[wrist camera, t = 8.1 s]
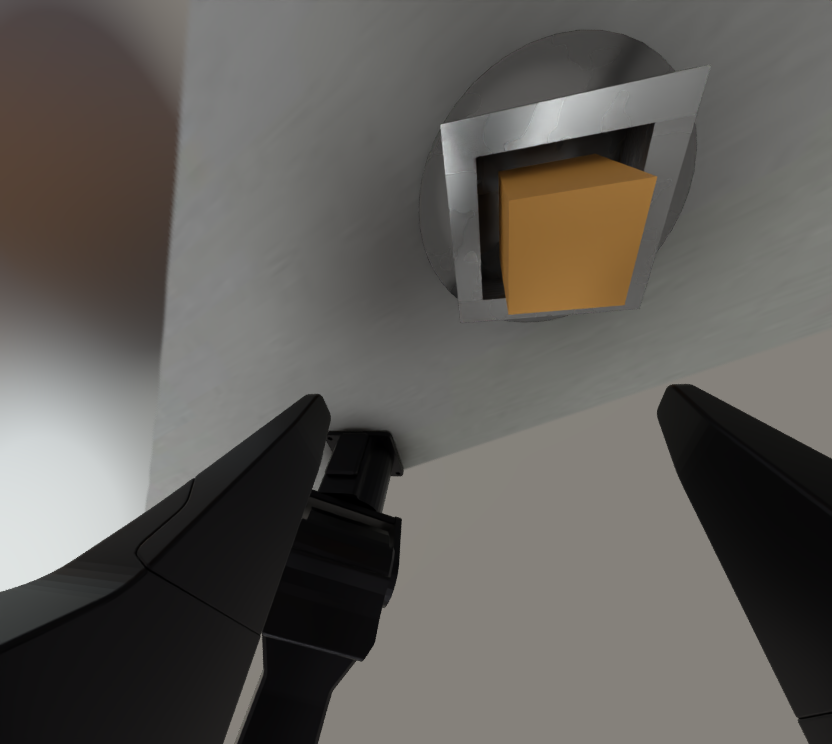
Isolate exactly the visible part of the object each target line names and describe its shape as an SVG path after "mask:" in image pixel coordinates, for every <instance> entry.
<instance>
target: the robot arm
mask: <svg viewBox="0 0 832 744" xmlns="http://www.w3.org/2000/svg"><path fill="white" fill-rule="evenodd" d="M657 417H658V421H659V424H660V426H661V429H662V432H663V435H664V438H665V441H666V444H667V446H668V450H669V452H670V455H671V458H672V461H673V464H674V467H675V469H676V472H677V474H678V477H679V479H680V481H681V483H682V485H683V488H684V490H685V492H686V494H687V496H688V498H689V500H690V502H691V504H692V506H693V508H694V510H695V512H696V514H697V516H698V518H699V520H700V522H701V524H702V526H703V528H704V530H705V532H706V534H707V536H708V539H709V540H710V543H711V545H712V546H713V549H714V551H715V553H716V555H717V557H718V559H719V561H720V563H721V565H722V567H723V569H724V571H725V573H726V575H727V577H728V579H729V581H730V583H731V585H732V587H733V589H734V592H735V594H736V596H737V597H738V600H739V602H740V604H741V606H742V608H743V610H744V612H745V614H746V616H747V617H748V620H749V622H750V624H751V626H752V628H753V630H754V632H755V634H756V636H757V638H758V640H759V642H760V645H761V646H762V649H763V651H764V653H765V655H766V657H767V659H768V661H769V663H770V665H771V667H772V669H773V671H774V673H775V675H776V677H777V679H778V681H779V683H780V685H781V687H782V689H783V691H784V693H785V695H786V697H787V699H788V701H789V704H790V706H791V708H792V710H793V711H794V714H795V715H796V717H797V718H799V719H798V723H799V725H800V727H801V729H802V730H803V733H804V735H805V737H806V739H807V741H808V743H809V744H832V459H831V458H829V457H828V456H826V455H824V454H822V453H820V452H818V451H816V450H814V449H812V448H811V447H809V446H807V445H805V444H803V443H801V442H799V441H797V440H795V439H794V438H792V437H790V436H788V435H786V434H784V433H782V432H780V431H778V430H777V429H775V428H773V427H771V426H769V425H767V424H765V423H763V422H761V421H760V420H758V419H756V418H754V417H752V416H750V415H748V414H746V413H745V412H743V411H741V410H739V409H737V408H735V407H733V406H731V405H729V404H727V403H726V402H724V401H722V400H720V399H718V398H716V397H714V396H712V395H711V394H709V393H707V392H705V391H703V390H701V389H699V388H697V387H696V386H693V385H690V384H673V385H670V386H668V387H667V388H666V391H665V393H664V395H663V398H662V400H661V402H660V404H659V407H658V410H657ZM330 421H331V415H330V412H329V410H328V408H327V405H326V403H325V401H324V399H323V397H322V396H321V395H320V394H308V395H305V396H304V397H302V398H301V399H300V400H298V401H297V402H296V403H294V404H293V405H292V406H290V407H289V408H288V409H286V410H285V411H284V412H282V413H281V414H279V415H278V416H277V417H275V418H274V419H273V420H271V421H270V422H269V423H267V424H266V425H265V426H263V427H262V428H260V429H259V430H258V431H256V432H255V433H254V434H252V435H251V436H250V437H248V438H247V439H246V440H244V441H243V442H241V443H240V444H239V445H237V446H236V447H235V448H233V449H232V450H231V451H229V452H228V453H227V454H225V455H224V456H223V457H221V458H220V459H218V460H217V461H216V462H214V463H213V464H212V465H210V466H209V467H208V468H206V469H205V470H204V471H202V472H201V473H199V474H198V475H197V476H196V477H195V478H193V479H191V480H190V481H189V482H187V483H186V484H185V485H183V486H182V487H180V488H179V489H178V490H176V491H175V492H174V493H172V494H171V495H169V496H168V497H167V498H165V499H164V500H162V501H161V502H160V503H158V504H157V505H155V506H154V507H152V508H151V509H149V510H148V511H146V512H145V513H143V514H142V515H140V516H139V517H138V518H136V519H135V520H133V521H132V522H130V523H129V524H127V525H126V526H124V527H123V528H121V529H120V530H118V531H117V532H115V533H113V534H112V535H110V536H109V537H107V538H106V539H104V540H103V541H101V542H100V543H98V544H97V545H95V546H94V547H92V548H91V549H90V550H88V551H86V552H85V553H83V554H82V555H80V556H79V557H77V558H76V559H74V560H73V561H71V562H70V563H68V564H66V565H65V566H63V567H61V568H60V569H57V570H56V571H54V572H52V573H50V574H48V575H46V576H43V577H41V578H39V579H37V580H34V581H32V582H29V583H27V584H24V585H21V586H18V587H15V588H12V589H9V590H6V591H2V592H0V744H223V742H224V740H225V737H226V734H227V731H228V728H229V725H230V722H231V720H232V717H233V714H234V711H235V708H236V705H237V703H238V700H239V697H240V694H241V691H242V688H243V685H244V683H245V680H246V677H247V674H248V671H249V668H250V665H251V663H252V660H253V657H254V654H255V651H256V648H257V645H258V642H259V640H260V634H261V633H262V642H263V671H262V673H261V676H260V678H259V681H258V684H257V686H256V689H255V691H254V694H253V697H252V699H251V702H250V704H249V707H248V710H247V712H246V715H245V717H244V720H243V722H242V725H241V728H240V730H239V733H238V736H237V738H236V741H235V743H234V744H318V741H319V737H320V733H321V730H322V726H323V723H324V719H325V715H326V711H327V708H328V704H329V701H330V698H331V694H332V692H333V690H334V688H335V687H336V686H337V685H338V683H339V682H340V681H341V680H342V678H343V677H344V676H345V675H346V673H347V672H348V671H349V669H350V668H351V667H352V666H353V664H354V663H355V662H356V661H363V660H364V659H365V657H366V656H367V654H368V653H369V651H370V650H371V648H372V647H373V645H374V643H375V639H376V634H377V629H378V624H379V619H380V614H381V610H382V608H385V607H386V606H387V604H388V602H389V600H390V598H391V596H392V593H393V590H394V586H395V584H396V579H397V575H398V569H399V556H400V539H401V521H402V519H401V518H399V517H392V516H389V515H386V514H383V513H382V510H383V506H384V502H385V498H386V493H387V489H388V484H389V481H390V476H402V475H403V467H402V465H401V462H400V459H399V456H398V453H397V450H396V447H395V444H394V441H393V439H392V436H391V434H390V433H388V432H328V430H329V425H330ZM326 441H327V443H328V444H329V446H330V448H331V450H332V452H333V453H332V455H331V458H330V460H329V462H328V465H327V467H326V470H325V475H324V477H323V479H322V482H321V484H320V487H319V489H318V491H315V490H312V488H313V485H314V482H315V479H316V476H317V473H318V470H319V467H320V463H321V460H322V455H323V451H324V447H325V443H326Z"/></svg>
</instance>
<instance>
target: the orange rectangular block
mask: <svg viewBox="0 0 832 744" xmlns="http://www.w3.org/2000/svg"><path fill="white" fill-rule="evenodd" d="M498 179H499V253H500V265H501V271H502V277H503V284H504V290H505V296H506V302H507V309H508V315H512V314H524V313H536V312H548V311H560V310H572V309H585V308H597V307H609V306H621V305H625V301H626V297H627V293H628V289H629V286H630V282H631V278H632V274H633V270H634V266H635V262H636V258H637V254H638V250H639V246H640V243H641V239H642V235H643V231H644V227H645V223H646V219H647V215H648V211H649V207H650V203H651V200H652V196H653V192H654V188H655V184H656V180H657V176H655V175H652V174H649V173H646V172H644V171H641V170H638V169H636V168H633V167H630V166H627V165H625V164H622V163H619V162H616V161H614V160H611V159H608V158H606V157H603V156H600V155H597V154H591V155H586V156H580V157H575V158H570V159H564V160H559V161H553V162H548V163H542V164H537V165H531V166H526V167H520V168H515V169H510V170H504V171H499V172H498Z"/></svg>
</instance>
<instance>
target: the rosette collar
mask: <svg viewBox="0 0 832 744" xmlns="http://www.w3.org/2000/svg"><path fill="white" fill-rule="evenodd" d="M710 68H711V65H706V66H700V67H695V68H690V69H685V70H680V71H675V70H674V69H673V68H672V67H671V66H670V65H669V64H668V63H667V62H666V60H665V59H664V58H663V57H662V56H661V55H660V54H658V53H657V52H656V51H654V50H653V49H651V48H650V47H648V46H647V45H646V44H644V43H643V42H640V41H638V40H635V39H633V38H631V37H628V36H626V35H623V34H619V33H614V32H608V31H603V30H576V31H571V32H565V33H559V34H554V35H551V36H549V37H546V38H543V39H540V40H537V41H534V42H532V43H530V44H528V45H526V46H524V47H522V48H520V49H518V50H516V51H515V52H513V53H511V54H509V55H508V56H506V57H505V58H504V59H502V60H501V61H499V62H498V63H497V64H495V65H494V66H492V67H491V68H490V69H489V70H488V71H486V72H485V73H484V74H483V75H482V76H481V77H480V78H479V79H478V80H477V81H476V82H475V83H473V84H472V85H471V87H470V88H469V89H468V90H467V91H466V93H465V94H464V95H463V96H462V97H461V98H460V100H459V101H458V102H457V103H456V105H455V106H454V108H453V109H452V111H451V112H450V114H449V115H448V117H447V118H446V120H445V121H444V123H443V124H441V125H440V126H441V129H440V131H439V133H438V135H437V137H436V139H435V140H434V143H433V146H432V148H431V151H430V153H429V156H428V159H427V162H426V166H425V170H424V173H423V177H422V183H421V190H420V197H419V220H420V230H421V235H422V240H423V244H424V248H425V251H426V254H427V256H428V259H429V261H430V263H431V265H432V267H433V269H434V271H435V273H436V275H437V276H438V277H439V279H440V280H441V282H442V283H443V285H444V286H445V287H446V288H447V289H448V290H449V291H450V292H451V293H452V294H453V295H454V296H455V297H456V298H457V299H458V303H459V313H460V323H467V322H480V321H493V320H506V321H514V322H539V321H547V320H552V319H556V318H561V317H565V316H568V315H570V314H581V313H594V312H607V311H620V310H632V309H640V306H641V303H642V299H643V296H644V292H645V289H646V286H647V282H648V279H649V275H650V272H651V269H652V265H653V262H654V258H655V255H656V252H657V251H658V249H659V248H660V247H661V246H662V244H663V242H664V241H665V239H666V238H667V236H668V235H669V233H670V232H671V230H672V228H673V226H674V225H675V223H676V221H677V219H678V217H679V215H680V213H681V211H682V208H683V206H684V203H685V200H686V198H687V195H688V193H689V189H690V185H691V181H692V177H693V173H694V167H695V159H696V151H697V145H696V125H695V119H696V115H697V112H698V108H699V105H700V102H701V98H702V95H703V91H704V88H705V85H706V81H707V78H708V74H709V71H710ZM591 154H597V155H600V156H603V157H606V158H608V159H611V160H614V161H616V162H619V163H622V164H625V165H627V166H630V167H633V168H636V169H638V170H641V171H644V172H646V173H649V174H652V175H655V176H657V180H656V184H655V188H654V192H653V196H652V200H651V203H650V207H649V211H648V215H647V219H646V223H645V227H644V231H643V235H642V239H641V243H640V246H639V250H638V254H637V258H636V262H635V266H634V270H633V274H632V278H631V282H630V286H629V289H628V293H627V297H626V301H625V305H621V306H609V307H597V308H585V309H572V310H560V311H548V312H536V313H524V314H512V315H508V309H507V302H506V296H505V290H504V284H503V277H502V271H501V265H500V253H499V179H498V172H499V171H504V170H510V169H515V168H520V167H526V166H531V165H537V164H542V163H548V162H553V161H559V160H564V159H570V158H575V157H580V156H586V155H591Z"/></svg>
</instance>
